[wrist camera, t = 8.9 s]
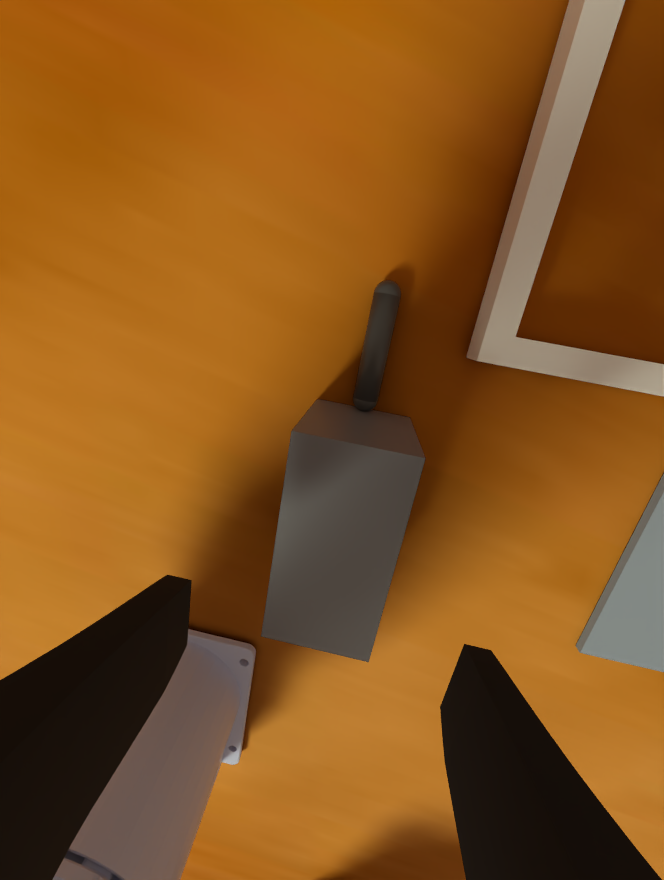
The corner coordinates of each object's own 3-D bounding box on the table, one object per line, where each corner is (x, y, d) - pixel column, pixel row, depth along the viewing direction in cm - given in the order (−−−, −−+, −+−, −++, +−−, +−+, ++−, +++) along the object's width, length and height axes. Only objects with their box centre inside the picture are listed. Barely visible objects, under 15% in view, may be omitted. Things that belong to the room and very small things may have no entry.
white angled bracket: (664, 394, 14) (699, 403, 12) (465, 357, 14) (477, 360, 13) (865, -30, 10) (954, -95, 8) (588, -64, 10) (624, -133, 9)
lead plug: (366, 588, 18) (363, 682, 13) (288, 571, 18) (258, 656, 13) (441, 291, 14) (477, 272, 9) (338, 272, 14) (318, 244, 9)
